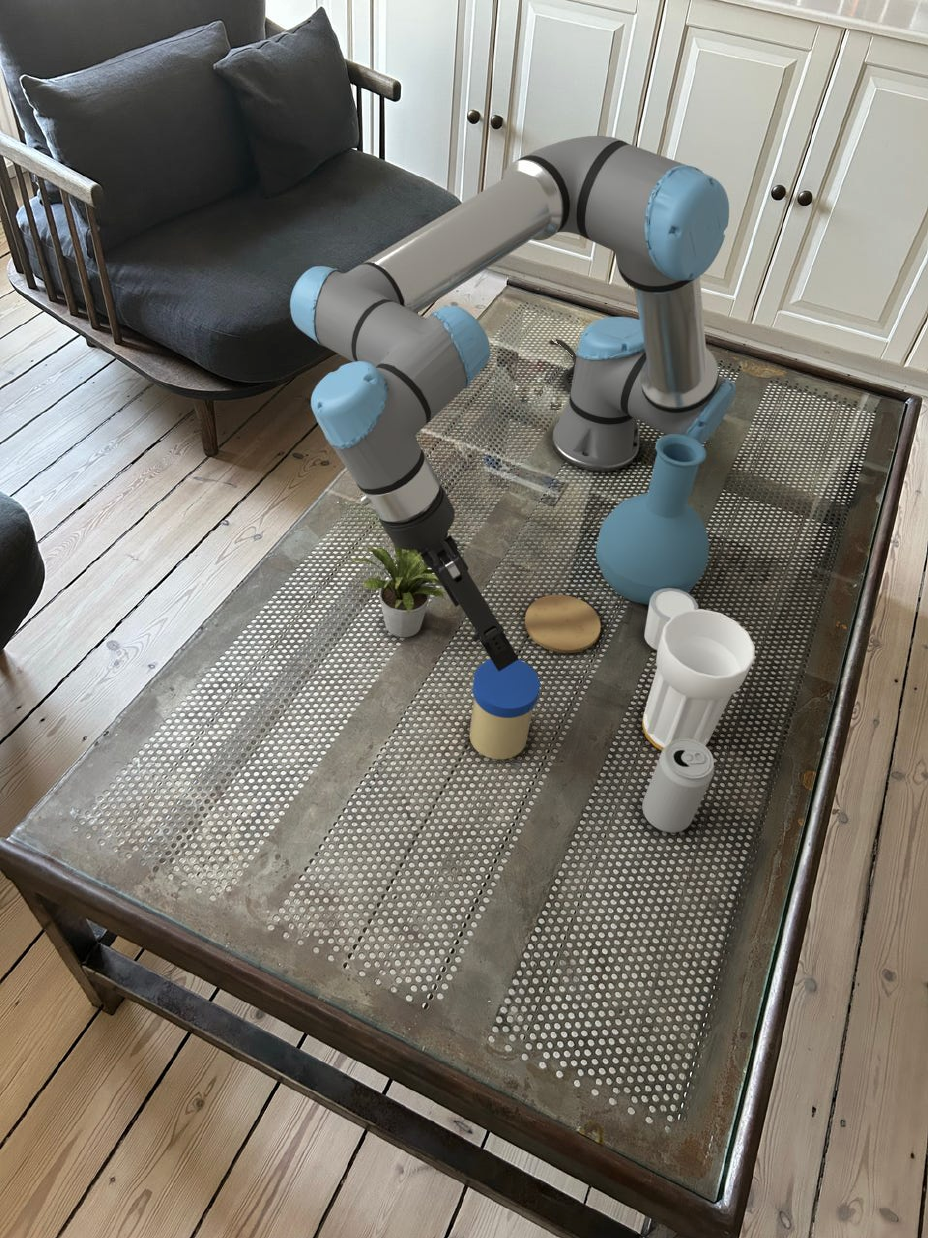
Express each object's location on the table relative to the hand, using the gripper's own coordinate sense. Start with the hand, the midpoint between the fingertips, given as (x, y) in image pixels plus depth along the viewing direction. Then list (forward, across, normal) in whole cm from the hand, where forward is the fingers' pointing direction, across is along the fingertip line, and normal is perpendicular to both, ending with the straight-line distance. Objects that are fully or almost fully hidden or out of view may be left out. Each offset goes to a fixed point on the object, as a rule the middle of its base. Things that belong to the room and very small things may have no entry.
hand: (484, 630), depth 117 cm
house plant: (+11, -22, -10) cm, 26 cm away
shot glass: (+28, -9, +22) cm, 37 cm away
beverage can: (+27, +17, +7) cm, 33 cm away
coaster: (+22, -16, +11) cm, 29 cm away
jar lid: (+8, +2, -1) cm, 8 cm away
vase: (+28, -20, +26) cm, 43 cm away
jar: (+18, -1, -6) cm, 18 cm away
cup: (+28, +6, +15) cm, 33 cm away
